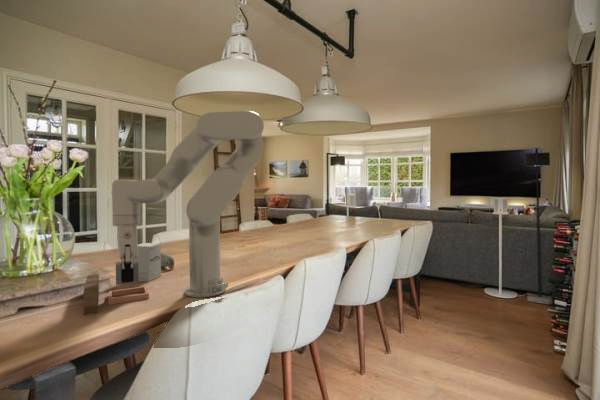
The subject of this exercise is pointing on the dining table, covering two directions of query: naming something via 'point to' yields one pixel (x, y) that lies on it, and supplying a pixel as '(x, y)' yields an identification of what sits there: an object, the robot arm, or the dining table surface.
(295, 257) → the dining table surface
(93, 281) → the board
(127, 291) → the key collar
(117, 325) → the dining table surface
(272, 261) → the dining table surface
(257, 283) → the dining table surface
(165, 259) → the decorative bird
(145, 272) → the supplement box
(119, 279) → the bar
